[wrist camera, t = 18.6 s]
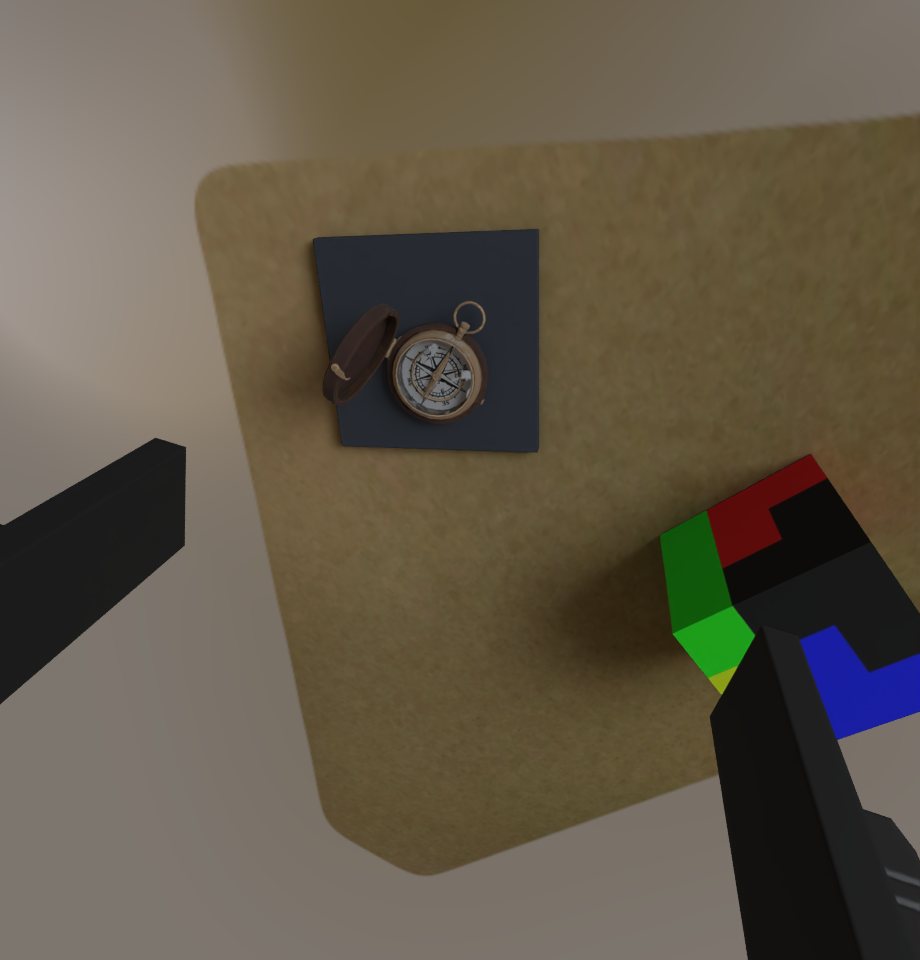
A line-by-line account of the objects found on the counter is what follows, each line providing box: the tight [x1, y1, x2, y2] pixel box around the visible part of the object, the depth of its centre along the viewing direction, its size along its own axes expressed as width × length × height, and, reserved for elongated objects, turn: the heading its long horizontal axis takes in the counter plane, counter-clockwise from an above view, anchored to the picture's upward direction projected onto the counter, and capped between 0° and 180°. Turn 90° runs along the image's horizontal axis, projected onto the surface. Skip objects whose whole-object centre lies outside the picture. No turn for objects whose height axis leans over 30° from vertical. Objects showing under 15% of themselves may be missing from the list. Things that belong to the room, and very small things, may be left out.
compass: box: [323, 301, 489, 424], centre depth 36 cm, size 8×8×7 cm
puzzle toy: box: [660, 454, 920, 740], centre depth 37 cm, size 10×10×10 cm
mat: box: [313, 229, 539, 452], centre depth 39 cm, size 13×13×1 cm
